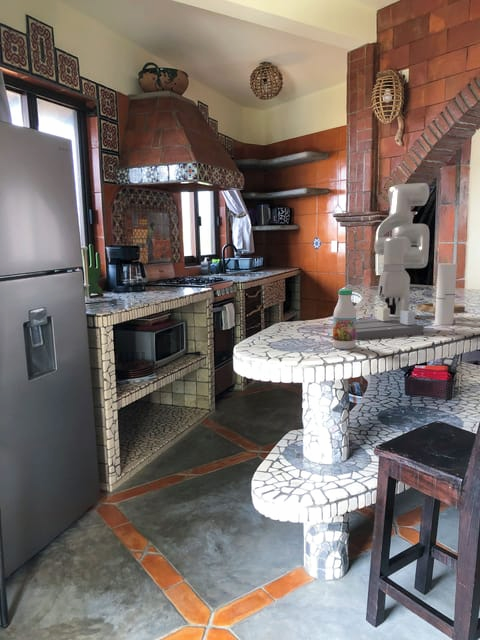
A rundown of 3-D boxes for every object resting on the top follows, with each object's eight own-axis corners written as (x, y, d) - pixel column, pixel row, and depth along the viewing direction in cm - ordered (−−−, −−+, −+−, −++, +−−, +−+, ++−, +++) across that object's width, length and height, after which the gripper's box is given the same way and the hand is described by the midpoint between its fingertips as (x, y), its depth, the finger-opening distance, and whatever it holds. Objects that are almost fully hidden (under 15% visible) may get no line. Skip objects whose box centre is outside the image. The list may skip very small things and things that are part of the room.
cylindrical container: (455, 325, 193) (459, 264, 188) (436, 324, 195) (440, 264, 190) (450, 321, 200) (454, 263, 195) (433, 321, 201) (436, 263, 197)
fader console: (333, 329, 189) (333, 322, 189) (394, 324, 196) (394, 317, 195) (356, 339, 171) (356, 331, 171) (422, 334, 178) (423, 326, 177)
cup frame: (417, 308, 233) (417, 304, 232) (443, 307, 237) (443, 302, 236) (437, 313, 219) (437, 308, 218) (464, 311, 222) (464, 306, 222)
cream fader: (376, 319, 191) (376, 306, 190) (382, 318, 192) (383, 306, 191) (383, 321, 186) (383, 308, 185) (389, 320, 187) (390, 308, 186)
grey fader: (399, 322, 183) (400, 309, 182) (406, 322, 183) (407, 309, 182) (407, 325, 178) (408, 311, 177) (414, 324, 179) (415, 311, 178)
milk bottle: (330, 344, 165) (330, 288, 161) (351, 343, 165) (352, 287, 162) (336, 350, 157) (337, 291, 153) (358, 349, 158) (360, 290, 154)
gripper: (403, 267, 191) (402, 311, 195) (371, 269, 188) (370, 313, 191) (415, 268, 184) (413, 314, 188) (381, 270, 181) (380, 316, 184)
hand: (391, 314), depth 189 cm, fingers closed
